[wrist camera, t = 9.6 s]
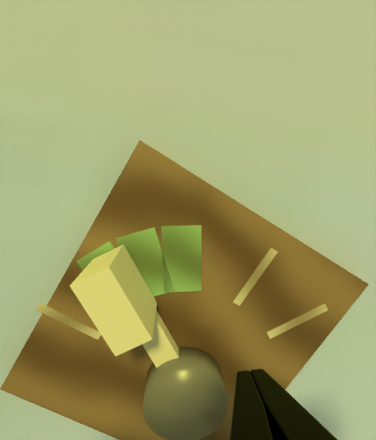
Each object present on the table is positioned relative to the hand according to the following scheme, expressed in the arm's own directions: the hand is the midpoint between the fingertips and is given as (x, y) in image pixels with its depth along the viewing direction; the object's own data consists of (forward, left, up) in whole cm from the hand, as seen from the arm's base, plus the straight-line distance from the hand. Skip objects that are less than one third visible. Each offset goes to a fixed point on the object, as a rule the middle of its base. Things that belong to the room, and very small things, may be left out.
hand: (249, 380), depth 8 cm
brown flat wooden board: (-6, -2, -12) cm, 14 cm away
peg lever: (-7, 0, -10) cm, 13 cm away
